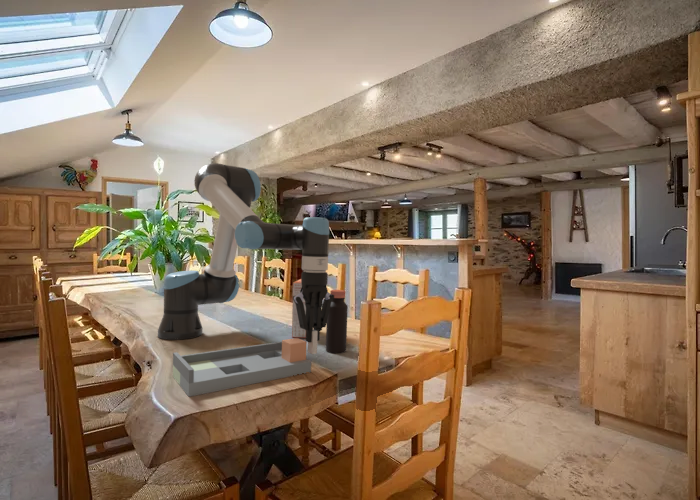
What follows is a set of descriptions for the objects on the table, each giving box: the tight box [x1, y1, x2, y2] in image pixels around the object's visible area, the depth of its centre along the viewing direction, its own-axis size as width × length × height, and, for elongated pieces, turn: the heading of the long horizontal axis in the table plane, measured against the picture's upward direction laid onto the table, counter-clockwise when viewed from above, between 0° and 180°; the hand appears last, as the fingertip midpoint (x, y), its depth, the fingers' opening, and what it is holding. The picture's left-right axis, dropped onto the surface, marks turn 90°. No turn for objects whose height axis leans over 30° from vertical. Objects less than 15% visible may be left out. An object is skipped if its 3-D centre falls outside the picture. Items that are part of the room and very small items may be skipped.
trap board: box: [172, 341, 312, 397], centre depth 103 cm, size 16×32×6 cm, turn 127°
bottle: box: [325, 289, 349, 354], centre depth 128 cm, size 7×7×20 cm
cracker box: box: [291, 278, 306, 339], centre depth 150 cm, size 14×6×21 cm, turn 175°
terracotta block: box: [281, 338, 308, 362], centre depth 108 cm, size 5×5×5 cm
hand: (312, 352), depth 112 cm, fingers closed
